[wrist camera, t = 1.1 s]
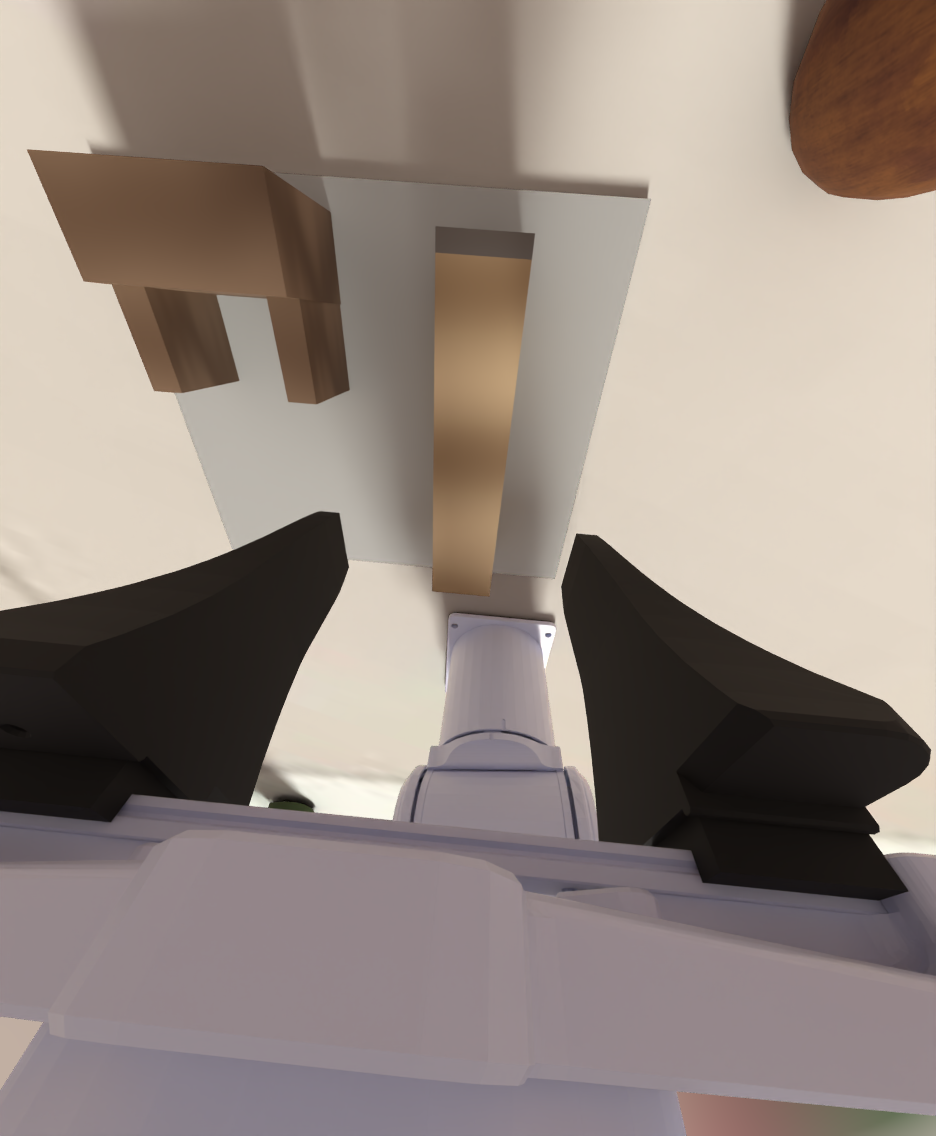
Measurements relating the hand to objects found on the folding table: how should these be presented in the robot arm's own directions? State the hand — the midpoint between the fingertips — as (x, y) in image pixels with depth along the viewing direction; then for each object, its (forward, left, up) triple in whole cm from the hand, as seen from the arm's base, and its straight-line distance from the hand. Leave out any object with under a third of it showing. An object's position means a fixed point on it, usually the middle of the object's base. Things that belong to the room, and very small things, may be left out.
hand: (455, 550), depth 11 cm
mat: (+1, +5, -11) cm, 12 cm away
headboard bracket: (+6, +10, -10) cm, 15 cm away
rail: (+1, 0, -10) cm, 10 cm away
